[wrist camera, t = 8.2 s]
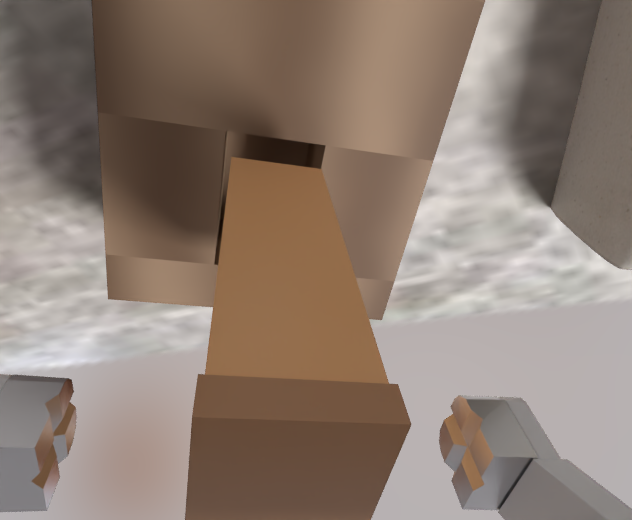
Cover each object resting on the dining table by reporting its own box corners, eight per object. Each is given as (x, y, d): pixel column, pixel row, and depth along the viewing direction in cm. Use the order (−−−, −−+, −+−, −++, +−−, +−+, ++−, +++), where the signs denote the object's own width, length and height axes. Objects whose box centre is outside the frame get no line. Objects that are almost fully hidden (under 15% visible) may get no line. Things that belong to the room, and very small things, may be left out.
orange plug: (216, 284, 18) (179, 596, 9) (228, 153, 15) (192, 417, 6) (299, 291, 19) (339, 592, 10) (324, 166, 16) (411, 424, 7)
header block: (137, 230, 25) (108, 299, 20) (129, -387, 14) (59, -580, 9) (358, 252, 27) (381, 320, 22) (495, -265, 16) (603, -365, 11)
